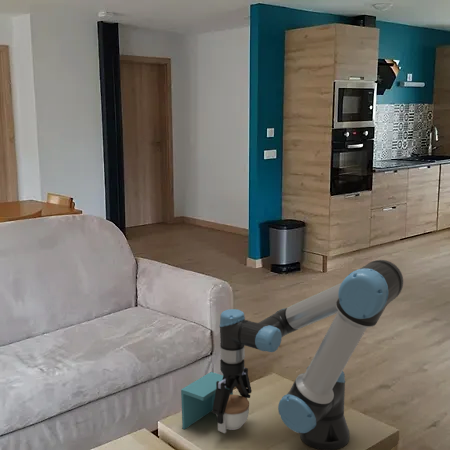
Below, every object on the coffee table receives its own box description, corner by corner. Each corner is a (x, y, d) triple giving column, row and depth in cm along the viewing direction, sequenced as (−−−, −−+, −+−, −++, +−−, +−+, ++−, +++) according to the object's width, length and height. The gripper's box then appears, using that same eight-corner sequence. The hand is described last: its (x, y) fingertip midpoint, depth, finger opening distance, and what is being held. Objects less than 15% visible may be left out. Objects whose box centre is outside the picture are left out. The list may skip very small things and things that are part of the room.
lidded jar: (246, 435, 183) (246, 407, 181) (212, 432, 185) (212, 404, 183) (251, 417, 193) (251, 391, 191) (219, 414, 195) (219, 388, 194)
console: (233, 416, 199) (232, 378, 196) (204, 437, 187) (203, 397, 184) (212, 408, 204) (211, 371, 202) (182, 428, 192) (181, 389, 189)
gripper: (243, 344, 196) (243, 405, 200) (199, 369, 178) (200, 436, 182) (262, 349, 191) (262, 412, 196) (219, 375, 173) (220, 444, 178)
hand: (232, 423), depth 189 cm, fingers closed on lidded jar, 11 cm apart
